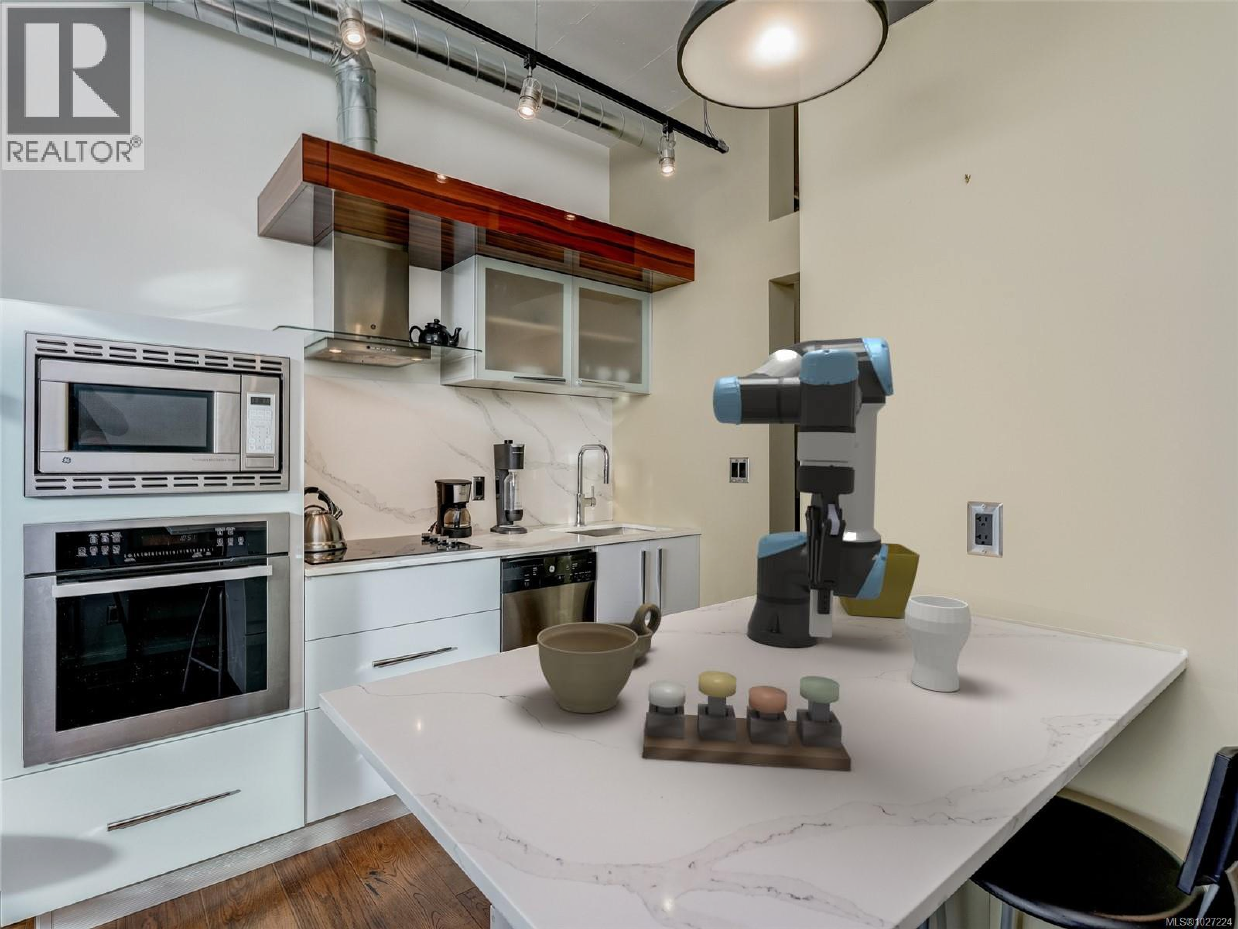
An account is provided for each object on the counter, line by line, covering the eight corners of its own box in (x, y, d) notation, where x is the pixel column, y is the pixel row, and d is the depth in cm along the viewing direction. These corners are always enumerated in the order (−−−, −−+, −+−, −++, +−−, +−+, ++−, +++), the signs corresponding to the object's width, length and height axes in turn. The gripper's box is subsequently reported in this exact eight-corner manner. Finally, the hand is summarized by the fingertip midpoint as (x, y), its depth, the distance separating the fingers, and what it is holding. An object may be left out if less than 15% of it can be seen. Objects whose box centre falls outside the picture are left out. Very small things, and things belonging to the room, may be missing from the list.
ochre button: (698, 721, 87) (699, 683, 87) (697, 706, 92) (698, 670, 92) (737, 724, 87) (738, 685, 86) (733, 708, 92) (734, 672, 92)
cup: (977, 698, 108) (980, 610, 108) (910, 692, 110) (913, 606, 110) (957, 676, 119) (960, 596, 118) (896, 671, 121) (899, 592, 120)
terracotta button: (750, 737, 86) (751, 699, 86) (745, 721, 92) (746, 684, 92) (789, 740, 86) (790, 701, 86) (782, 723, 91) (783, 686, 91)
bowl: (567, 655, 126) (569, 605, 125) (638, 641, 136) (639, 595, 136) (607, 676, 115) (608, 621, 114) (681, 659, 125) (682, 609, 124)
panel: (642, 757, 85) (643, 724, 85) (646, 722, 96) (646, 692, 96) (850, 770, 83) (851, 736, 82) (829, 733, 94) (830, 702, 93)
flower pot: (837, 618, 159) (839, 551, 158) (825, 600, 178) (827, 540, 177) (918, 623, 156) (921, 555, 155) (897, 604, 174) (900, 543, 174)
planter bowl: (543, 682, 111) (545, 620, 111) (636, 685, 111) (638, 623, 110) (527, 722, 95) (529, 649, 95) (636, 726, 95) (637, 653, 94)
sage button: (803, 727, 86) (804, 688, 86) (795, 712, 91) (796, 675, 91) (842, 730, 85) (843, 691, 85) (832, 714, 91) (834, 677, 90)
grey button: (646, 731, 88) (647, 693, 87) (648, 715, 93) (649, 679, 93) (684, 733, 87) (685, 695, 87) (684, 717, 92) (685, 681, 92)
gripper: (868, 466, 80) (862, 651, 81) (841, 464, 93) (836, 624, 94) (807, 464, 81) (801, 648, 82) (789, 462, 94) (784, 621, 95)
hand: (820, 635), depth 88 cm, fingers closed
